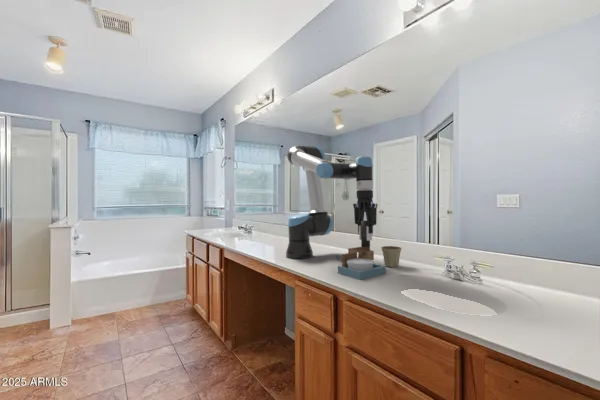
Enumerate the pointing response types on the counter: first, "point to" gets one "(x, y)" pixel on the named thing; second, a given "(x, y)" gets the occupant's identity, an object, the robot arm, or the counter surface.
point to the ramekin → (360, 264)
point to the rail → (340, 257)
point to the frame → (362, 272)
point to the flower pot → (391, 255)
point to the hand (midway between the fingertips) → (365, 239)
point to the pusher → (359, 248)
